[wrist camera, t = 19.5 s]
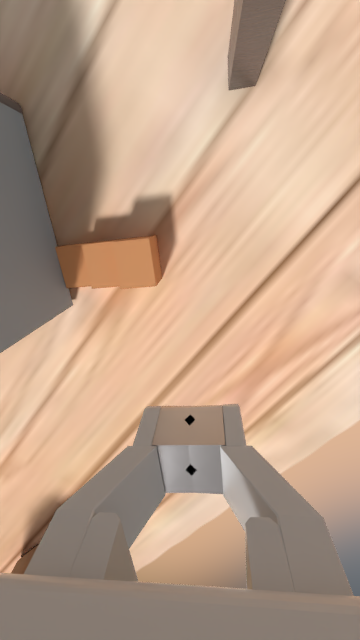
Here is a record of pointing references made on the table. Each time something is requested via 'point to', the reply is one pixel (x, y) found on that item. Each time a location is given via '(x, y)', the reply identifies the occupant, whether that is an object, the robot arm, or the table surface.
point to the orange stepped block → (111, 263)
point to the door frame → (251, 39)
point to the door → (25, 237)
